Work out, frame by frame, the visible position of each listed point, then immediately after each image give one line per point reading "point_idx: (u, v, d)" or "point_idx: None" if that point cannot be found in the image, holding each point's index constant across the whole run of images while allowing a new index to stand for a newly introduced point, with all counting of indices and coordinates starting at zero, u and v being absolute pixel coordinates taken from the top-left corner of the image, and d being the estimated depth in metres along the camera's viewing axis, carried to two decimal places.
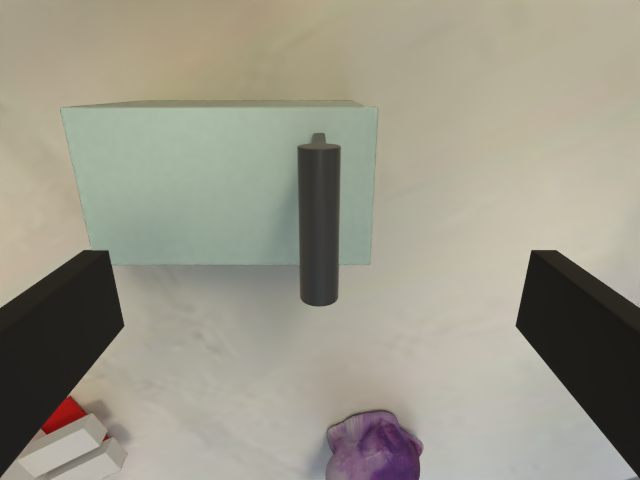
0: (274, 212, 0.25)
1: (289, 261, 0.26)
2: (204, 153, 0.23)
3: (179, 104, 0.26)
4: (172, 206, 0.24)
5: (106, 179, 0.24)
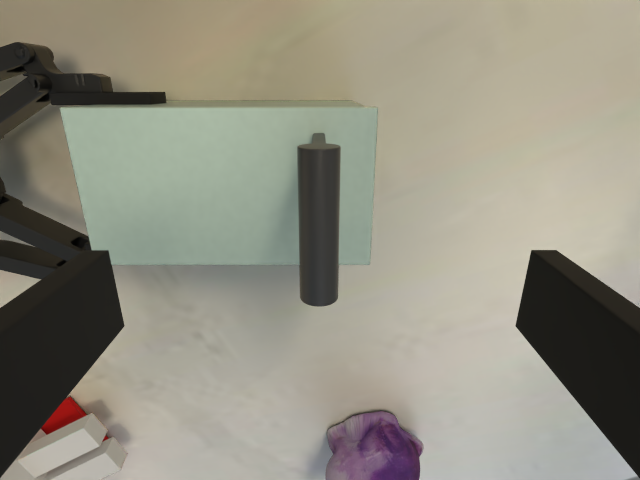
0: (274, 212, 0.25)
1: (289, 261, 0.26)
2: (204, 153, 0.23)
3: (179, 104, 0.26)
4: (172, 206, 0.24)
5: (105, 179, 0.24)
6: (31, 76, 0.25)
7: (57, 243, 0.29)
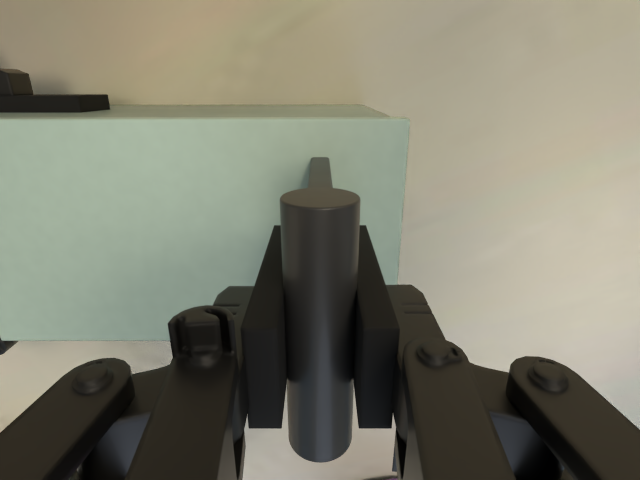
0: (255, 270, 0.17)
1: None
2: (149, 186, 0.16)
3: (121, 112, 0.18)
4: (105, 261, 0.17)
5: (5, 223, 0.16)
6: None
7: None
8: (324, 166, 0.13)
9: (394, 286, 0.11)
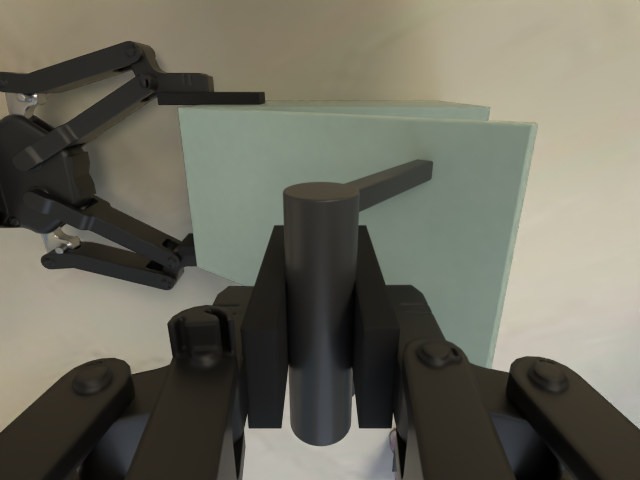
0: None
1: None
2: (286, 169, 0.19)
3: (286, 104, 0.26)
4: (255, 225, 0.21)
5: (206, 184, 0.23)
6: (143, 75, 0.24)
7: (150, 245, 0.29)
8: (405, 168, 0.13)
9: (394, 286, 0.11)
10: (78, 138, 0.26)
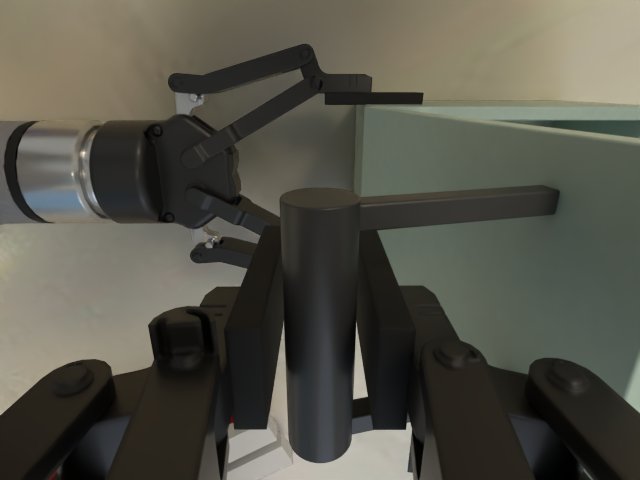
0: (467, 295, 0.15)
1: None
2: (425, 177, 0.17)
3: (447, 104, 0.27)
4: (397, 230, 0.20)
5: (372, 181, 0.23)
6: (318, 76, 0.25)
7: None
8: (491, 192, 0.10)
9: (406, 287, 0.11)
10: (243, 137, 0.27)
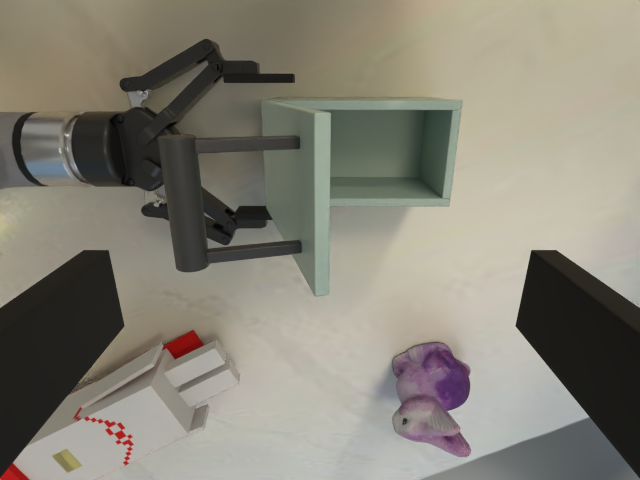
0: (290, 205, 0.26)
1: (294, 256, 0.27)
2: None
3: (327, 99, 0.38)
4: (274, 179, 0.32)
5: (265, 150, 0.35)
6: (214, 61, 0.36)
7: (218, 210, 0.42)
8: (263, 137, 0.21)
9: None
10: (176, 115, 0.38)
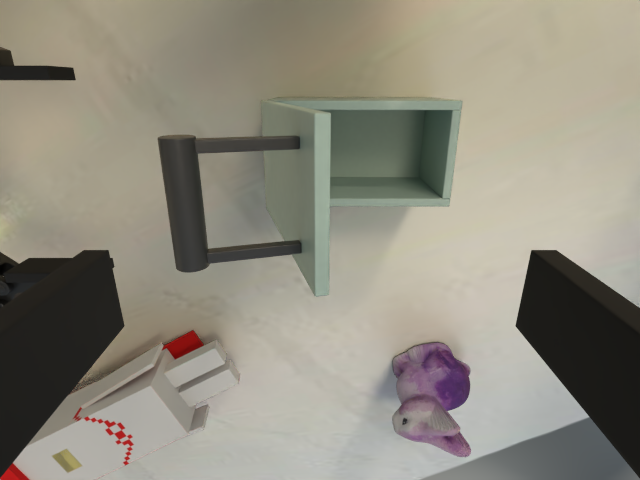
0: (290, 205, 0.26)
1: (294, 256, 0.27)
2: None
3: (327, 99, 0.38)
4: (274, 179, 0.32)
5: (266, 151, 0.35)
6: None
7: None
8: (263, 137, 0.21)
9: None
10: None
